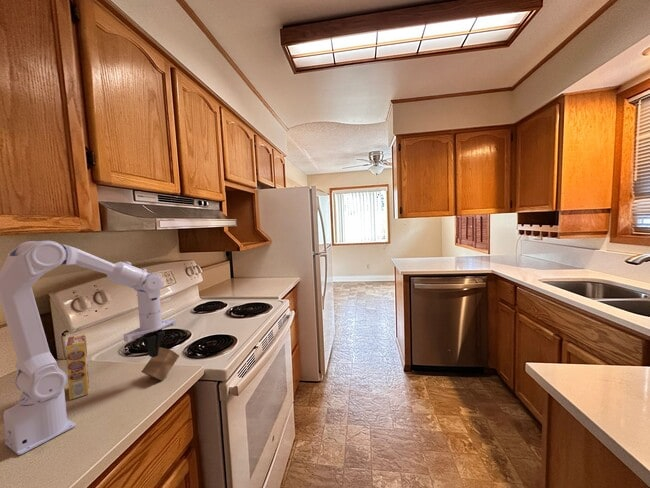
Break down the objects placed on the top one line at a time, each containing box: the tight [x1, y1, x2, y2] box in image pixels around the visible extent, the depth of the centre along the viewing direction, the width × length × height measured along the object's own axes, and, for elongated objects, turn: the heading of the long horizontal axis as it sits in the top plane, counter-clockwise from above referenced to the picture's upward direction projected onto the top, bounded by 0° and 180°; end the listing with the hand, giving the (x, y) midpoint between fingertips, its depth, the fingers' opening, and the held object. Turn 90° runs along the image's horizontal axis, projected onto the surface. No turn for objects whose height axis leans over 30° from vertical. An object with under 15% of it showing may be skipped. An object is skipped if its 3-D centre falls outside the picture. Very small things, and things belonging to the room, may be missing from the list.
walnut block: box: [141, 346, 180, 382], centre depth 87 cm, size 4×6×8 cm
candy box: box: [65, 333, 90, 400], centre depth 80 cm, size 9×4×15 cm, turn 39°
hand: (153, 355), depth 85 cm, fingers closed
